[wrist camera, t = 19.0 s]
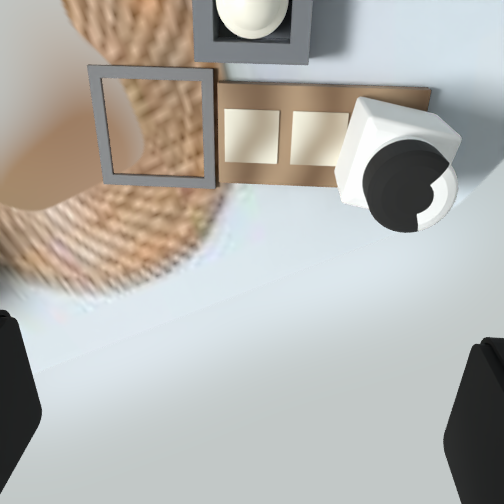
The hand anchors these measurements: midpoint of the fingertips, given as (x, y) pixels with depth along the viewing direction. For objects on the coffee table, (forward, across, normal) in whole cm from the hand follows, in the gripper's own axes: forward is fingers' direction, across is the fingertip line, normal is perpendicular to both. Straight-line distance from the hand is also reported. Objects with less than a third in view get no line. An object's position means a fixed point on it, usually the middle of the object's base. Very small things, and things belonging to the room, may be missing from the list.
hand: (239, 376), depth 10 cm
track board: (+36, -4, +5) cm, 37 cm away
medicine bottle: (+35, -10, +5) cm, 37 cm away
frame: (+36, +11, +5) cm, 38 cm away
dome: (+36, +2, -6) cm, 37 cm away
